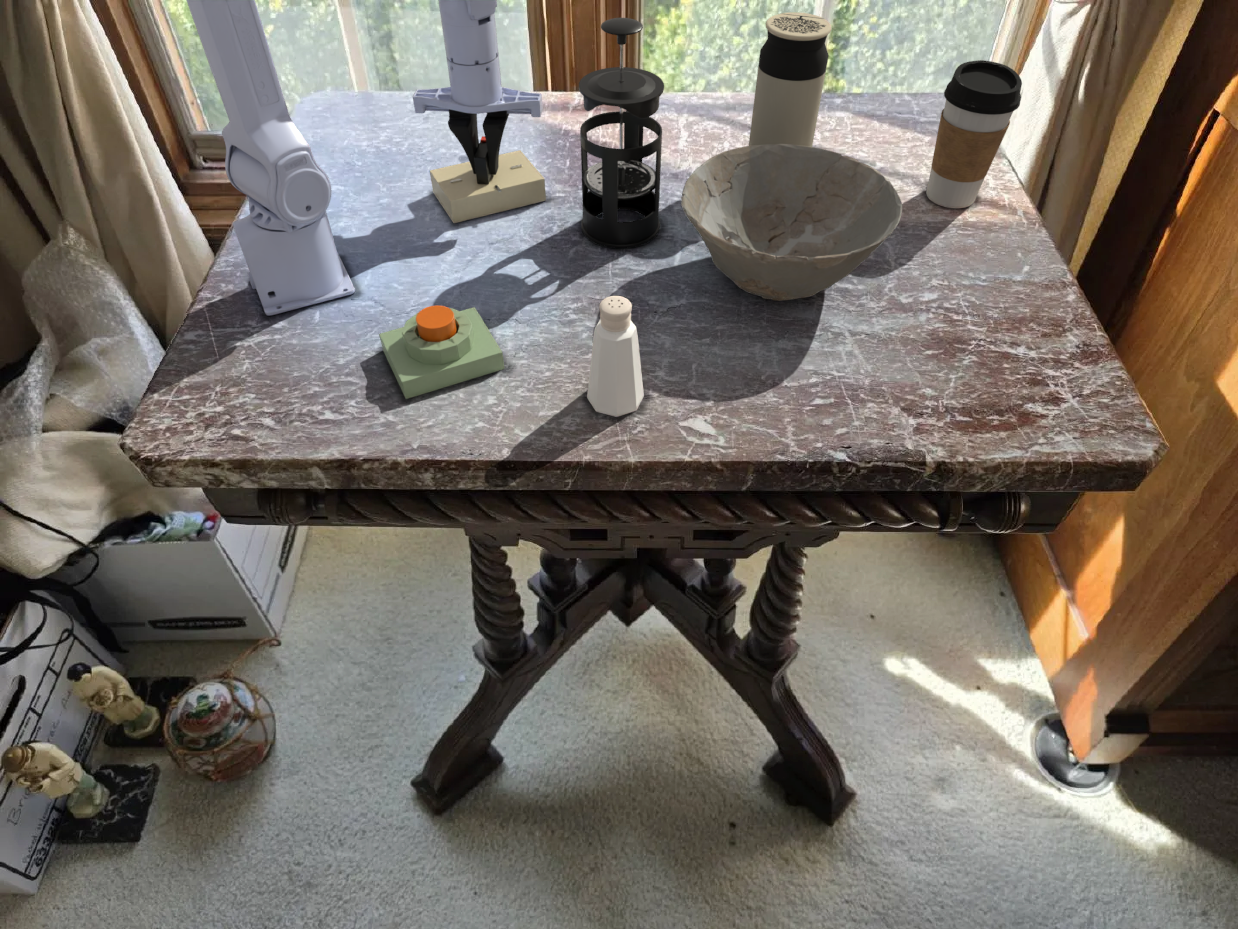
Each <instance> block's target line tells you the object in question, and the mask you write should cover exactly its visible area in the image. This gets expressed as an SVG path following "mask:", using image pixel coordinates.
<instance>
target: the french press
mask: <svg viewBox="0 0 1238 929" xmlns="http://www.w3.org/2000/svg"><path fill="white" fill-rule="evenodd" d="M643 28H644V25H643V24H642V22H641V21H639V20H637V19H633V18H630V17H614V18H610V19H606V20H605V21H603V22H602V23H601V25H600V29H601V31H603V32H604V33H606V34H609V35H613V36H616V43H617V44H618V45H619V66H615V67H605V68H600V69H597V70H594V71H591V72H589V73H587V74H586V75H584V76H583V77H582V78H581V79H580V81H579V82H578V90H579V93H580V95H581V96H582V99H583V108H584V111H586V112H590V111H592V110H594V109H596V108H597V107H599V106H609V107H618V108H619V110H618V111H608V112H601V113H599V114H595V115H593V116H591V117H588V118H587V119H586V120H584V122H583V123H581V126H580V130H579V138H580V142H579V143H580V162H581V163H580V164H581V197H582V200H581V201H582V202H581V203H582V204H581V206H582V207H581V208H582V218H581V221H580V229H581V232H582V234H583V235H584V237H585V238H586V239H587V240H589V241H590V242H591V243H593V244H595V245H598V246H601V247H604V248H608V249H619V250H621V249H622V250H623V249H625V250H626V249H634V248H637V247H641V246H644V245H646V244H648V243H650V242H651V241H653V240H654V239H655V238H656V237H657V236H658V235H659V233H660V229H661V221H660V219H659V218H660V217H659V216H660V214H659V213H660V192H661V190H660V189H661V168H662V149H663V148H662V147H663V146H662V144H663V128H662V125H661V124H660V123H659V121H658V120H656V119H654V118H652V117H651V116H653V115H654V114H656V113H657V112H658V111H659V108H660V97H661V96H662V95H663V94H664V91H665V82H664V81H663V79H662V78H661V77H660V76H658V75H657V74H655V73H654V72H652V71H649V70H645V69H641V68H635V67H628V66H624V45H626V44H627V36H632V35H636V34H638V33H640V32H641V31H642V30H643ZM614 124H619V142H618V143H619V147H618V148H617V147H616V148H615V147H607V146H602V145H599V144H596V143H594V142H592V141H590V140H589V139H588V133H589V132H590V131H592V130H594V129H596V128H599V127H602V126H606V125H614ZM644 128H646V129H647V130H650V131H652V132H653V133H654V134H655V135H656V136H657V137H656V138H655V139H654V140H653V141H650V142H649V143H647V144H644ZM588 154H589V155H591V156H593V157H595V158H597V159H601V162H597V163H595V164H594V165H593V164H592V165H591V166H590V167H589V164H588V162H589V161H588ZM654 154H655V169H654V168H653V167H651V166H650V165H649V164H646V163H644V162H643V159H645V158H648V157H650V156H652V155H654ZM619 210H624V211H631V212H635V213H637V214H640V215H641V216H643V217H641V218H638V219H633V220H625V221H619V219H618V216H619V215H618V214H619V212H618V211H619ZM599 215H602V218H601V217H598V216H599Z"/></svg>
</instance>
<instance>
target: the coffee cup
mask: <svg viewBox="0 0 1238 929" xmlns="http://www.w3.org/2000/svg"><path fill="white" fill-rule="evenodd" d="M1022 85H1023V81H1022V78H1021V77H1020V75H1019V74H1018V73H1017V72H1016V71H1015V70H1014V69H1013V68H1011V67H1009V66H1008V65H1005V64H1003V63H1000V62H995V61H990V60H985V59H984V60H983V59H980V60H970V61H966V62H963V63H961V64H959V65H958V66H957V67H956V68H955V70H954V73H953V75H952V77H951V79H950V81H949V82H948V83H947V84H946V87H945V89H944V92H943V96H944V99H945V103H944V106H943V108H942V110H941V113H940V118H939V123H938V130H937V135H936V139H935V144H934V150H933V155H932V160H931V168H930V171H929V172H930V173H929V176H928V181H927V187H926V191H925V192H926V197H927V198H928V199H929V200H930V201H931V203H934V204H935V205H938V206H941V207H944V208H948V209H964V208H968V207H971V205H973V204H974V203H975V201H976V199H977V197H978V194H979V192H980V190H981V187H982V186H983V182H984V180H985V178H986V176H987V175H988V172H989V170H990V168H991V166H992V163H993V162H994V159H995V157H996V155H997V153H998V151H999V149H1000V147H1001V144H1002V142H1003V139H1004V138H1005V135H1006V134H1007V132H1008V129H1009V127H1010V125H1011V118H1012V115H1013V114H1014V111H1016V110H1018V109H1019V107H1020V105H1021V101H1022V95H1021V90H1022Z"/></svg>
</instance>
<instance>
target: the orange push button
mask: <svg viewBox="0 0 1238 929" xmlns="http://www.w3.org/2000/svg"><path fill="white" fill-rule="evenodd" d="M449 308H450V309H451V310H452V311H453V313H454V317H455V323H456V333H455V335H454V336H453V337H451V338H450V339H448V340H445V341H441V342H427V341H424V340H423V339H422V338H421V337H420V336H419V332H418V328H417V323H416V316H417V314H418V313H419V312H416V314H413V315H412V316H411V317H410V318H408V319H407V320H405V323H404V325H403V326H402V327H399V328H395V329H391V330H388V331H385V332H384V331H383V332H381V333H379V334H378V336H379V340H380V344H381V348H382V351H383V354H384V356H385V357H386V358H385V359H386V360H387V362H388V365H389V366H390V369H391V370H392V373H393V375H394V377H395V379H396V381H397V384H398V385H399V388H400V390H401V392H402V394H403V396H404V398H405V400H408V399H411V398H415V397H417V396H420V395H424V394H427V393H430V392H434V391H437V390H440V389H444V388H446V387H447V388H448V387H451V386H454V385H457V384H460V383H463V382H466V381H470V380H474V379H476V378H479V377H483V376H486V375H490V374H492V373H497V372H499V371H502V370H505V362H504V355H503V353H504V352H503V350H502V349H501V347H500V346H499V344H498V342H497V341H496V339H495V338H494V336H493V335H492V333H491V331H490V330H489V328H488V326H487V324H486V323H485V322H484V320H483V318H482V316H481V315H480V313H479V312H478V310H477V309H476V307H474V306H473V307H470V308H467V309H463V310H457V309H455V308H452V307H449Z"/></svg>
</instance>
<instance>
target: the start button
mask: <svg viewBox="0 0 1238 929" xmlns="http://www.w3.org/2000/svg"><path fill="white" fill-rule="evenodd" d="M450 308H451V307H447V306H445V305H437V304H435V305H430V306H427V307H426V306H425V307H424V308H422V309H421V310H419V311H418V312H417V313H418V314H417V313H416V314H417V316H416V323H417V328H418V332H419V336H420V337H421V338H422V339H423V340H424V341H427V342H441V341H445V340H448V339H450V338H451V337H453V336H454V335H455V333H456V323H455V317H454V313H453V311H452V310H451V309H450Z"/></svg>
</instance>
